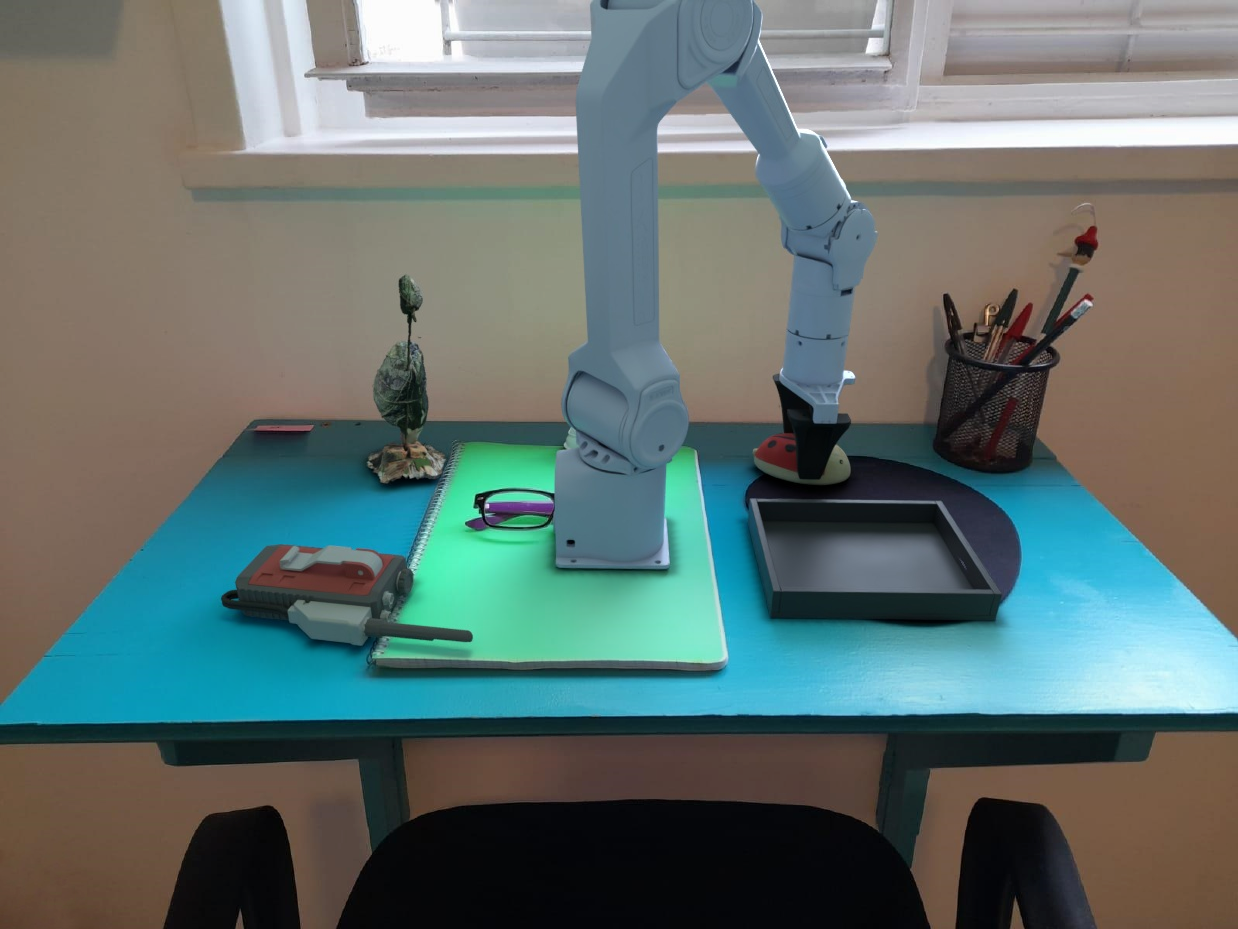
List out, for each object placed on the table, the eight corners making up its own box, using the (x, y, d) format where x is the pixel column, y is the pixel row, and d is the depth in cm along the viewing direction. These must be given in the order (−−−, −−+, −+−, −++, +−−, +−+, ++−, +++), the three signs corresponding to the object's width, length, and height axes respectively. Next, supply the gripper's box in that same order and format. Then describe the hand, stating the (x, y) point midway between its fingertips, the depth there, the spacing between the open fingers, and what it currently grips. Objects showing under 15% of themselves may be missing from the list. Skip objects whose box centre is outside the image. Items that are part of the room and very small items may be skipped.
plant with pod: (452, 438, 94) (436, 253, 85) (443, 488, 84) (423, 285, 75) (376, 440, 93) (351, 254, 84) (357, 491, 83) (327, 286, 74)
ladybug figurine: (846, 495, 84) (851, 462, 82) (744, 479, 86) (747, 447, 85) (852, 465, 89) (856, 433, 88) (756, 451, 92) (759, 420, 90)
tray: (770, 618, 66) (773, 591, 65) (747, 522, 79) (749, 498, 78) (995, 620, 66) (1002, 594, 65) (936, 524, 79) (941, 500, 78)
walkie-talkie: (207, 634, 64) (469, 662, 61) (194, 584, 62) (464, 612, 59) (267, 568, 72) (502, 591, 69) (257, 522, 70) (499, 544, 67)
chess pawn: (583, 454, 90) (582, 410, 88) (559, 449, 91) (558, 405, 89) (595, 443, 93) (595, 400, 90) (571, 438, 94) (570, 396, 91)
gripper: (880, 357, 74) (859, 495, 81) (843, 307, 87) (827, 429, 94) (798, 356, 74) (783, 494, 81) (773, 306, 87) (761, 428, 94)
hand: (802, 459), depth 87 cm, fingers open, 7 cm apart
